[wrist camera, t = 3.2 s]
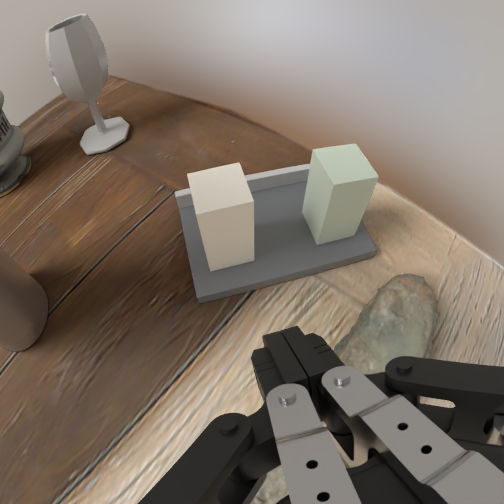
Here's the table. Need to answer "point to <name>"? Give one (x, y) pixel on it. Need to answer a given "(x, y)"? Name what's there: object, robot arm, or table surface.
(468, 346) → the table surface
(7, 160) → the apothecary jar
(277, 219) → the tile board
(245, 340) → the table surface
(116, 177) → the table surface
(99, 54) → the wineglass
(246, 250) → the white block
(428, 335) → the elongated rock
